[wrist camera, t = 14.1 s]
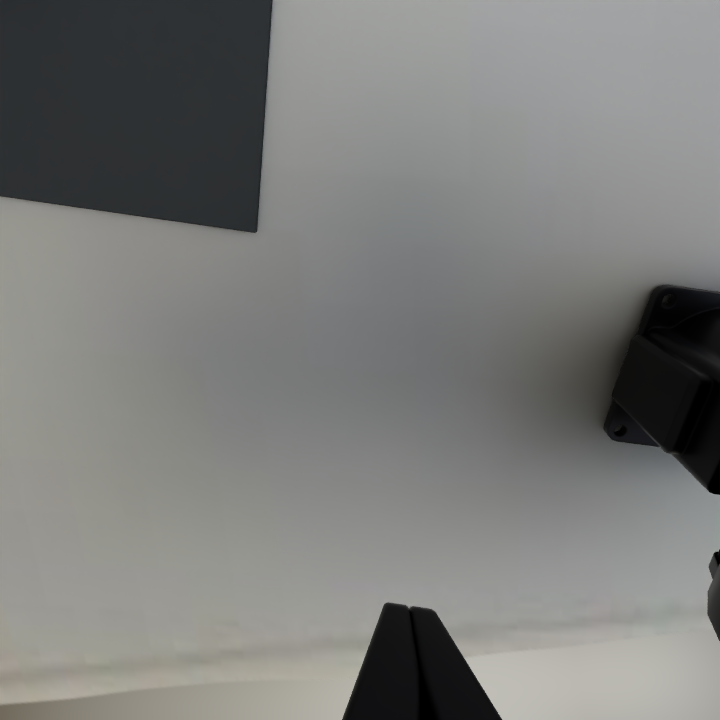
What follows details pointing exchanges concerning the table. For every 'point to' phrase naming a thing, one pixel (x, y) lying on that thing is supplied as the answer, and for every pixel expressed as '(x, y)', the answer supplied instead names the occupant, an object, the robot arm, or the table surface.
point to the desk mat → (136, 106)
